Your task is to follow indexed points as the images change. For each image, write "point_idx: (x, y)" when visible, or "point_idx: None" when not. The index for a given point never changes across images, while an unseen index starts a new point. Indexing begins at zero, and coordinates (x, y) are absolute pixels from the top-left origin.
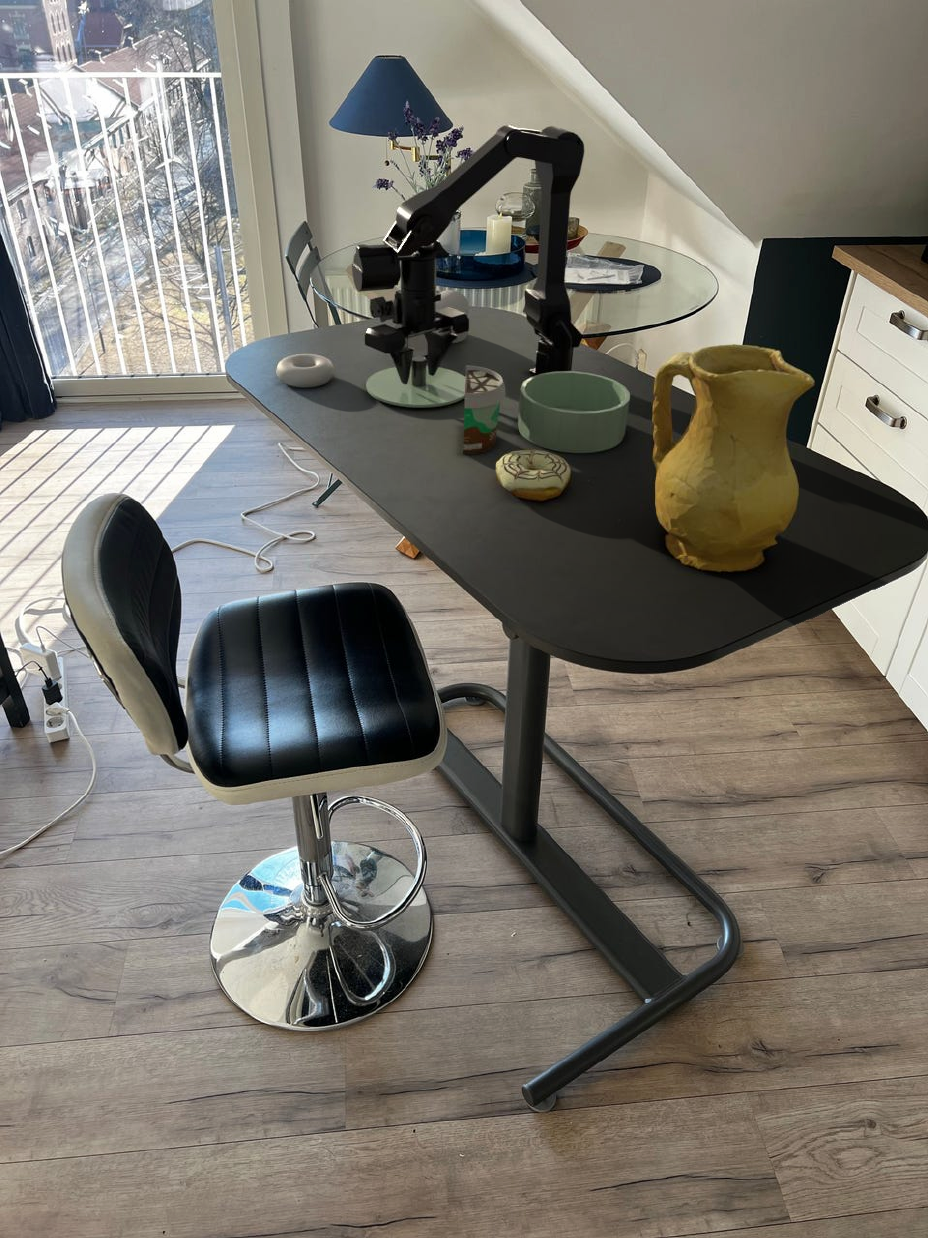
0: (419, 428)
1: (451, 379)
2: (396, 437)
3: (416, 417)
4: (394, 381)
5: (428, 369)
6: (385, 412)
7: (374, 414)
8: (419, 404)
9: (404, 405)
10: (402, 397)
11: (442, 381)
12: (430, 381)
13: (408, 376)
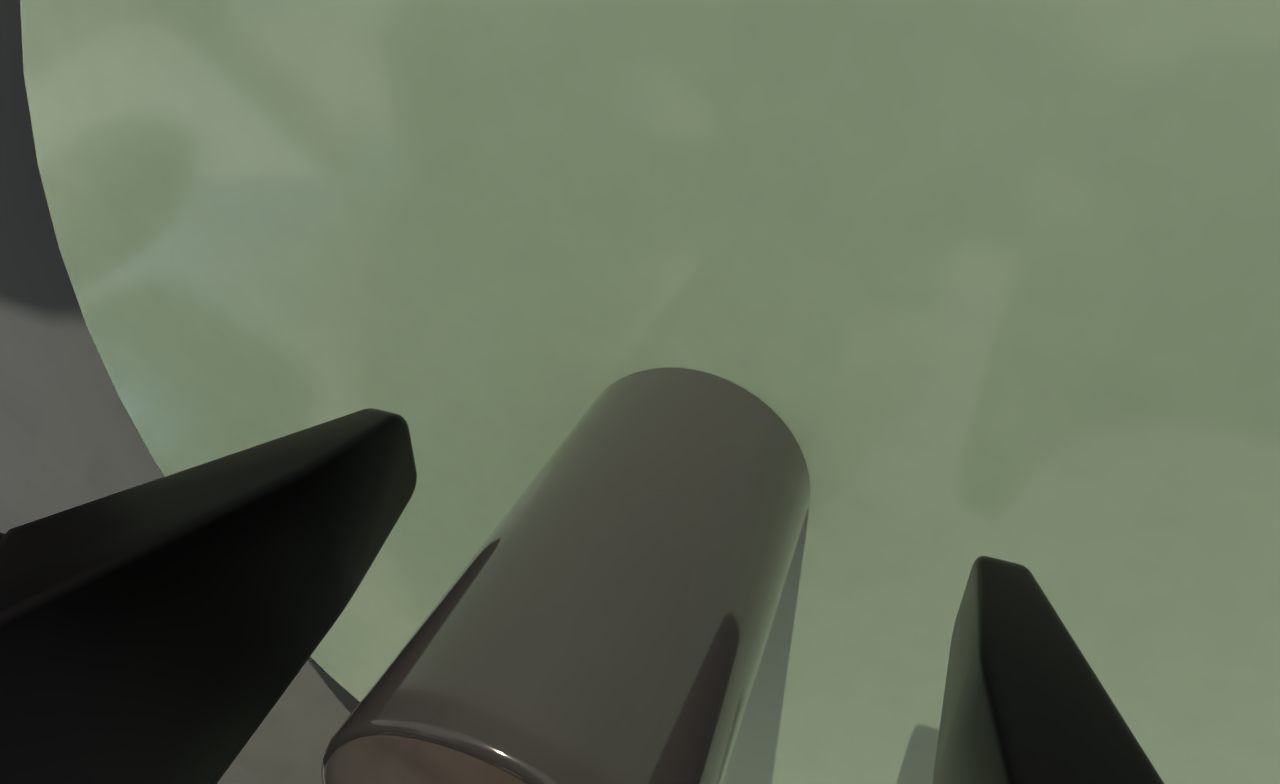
0: (267, 741)
1: (1231, 756)
2: None
3: (323, 674)
4: (458, 118)
5: (974, 613)
6: (153, 461)
7: (66, 416)
8: (361, 698)
9: None
10: None
11: None
12: (914, 548)
13: (325, 611)
